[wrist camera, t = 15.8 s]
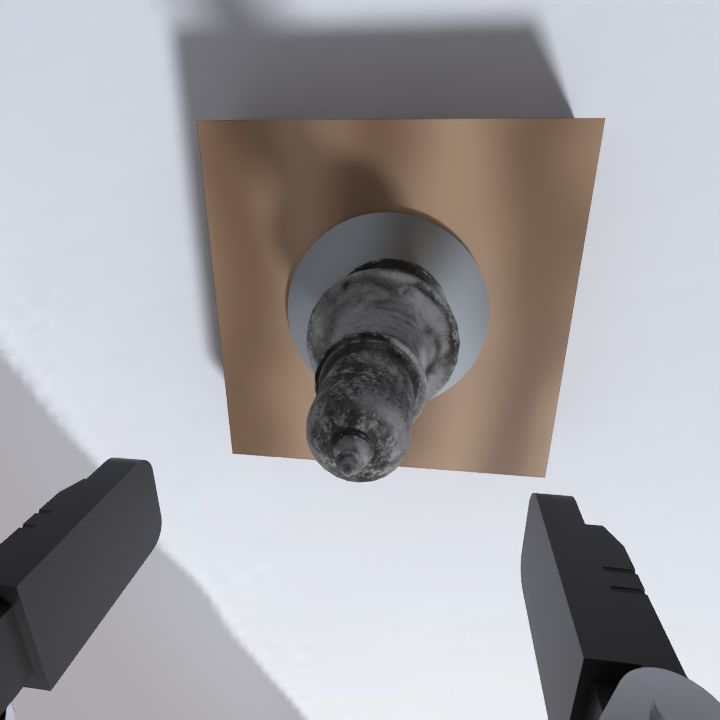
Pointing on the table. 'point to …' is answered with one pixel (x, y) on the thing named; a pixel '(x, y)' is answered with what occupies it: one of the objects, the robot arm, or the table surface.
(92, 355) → the table surface
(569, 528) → the robot arm
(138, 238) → the table surface
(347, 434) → the stone chess piece
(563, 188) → the walnut plinth
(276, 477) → the table surface
